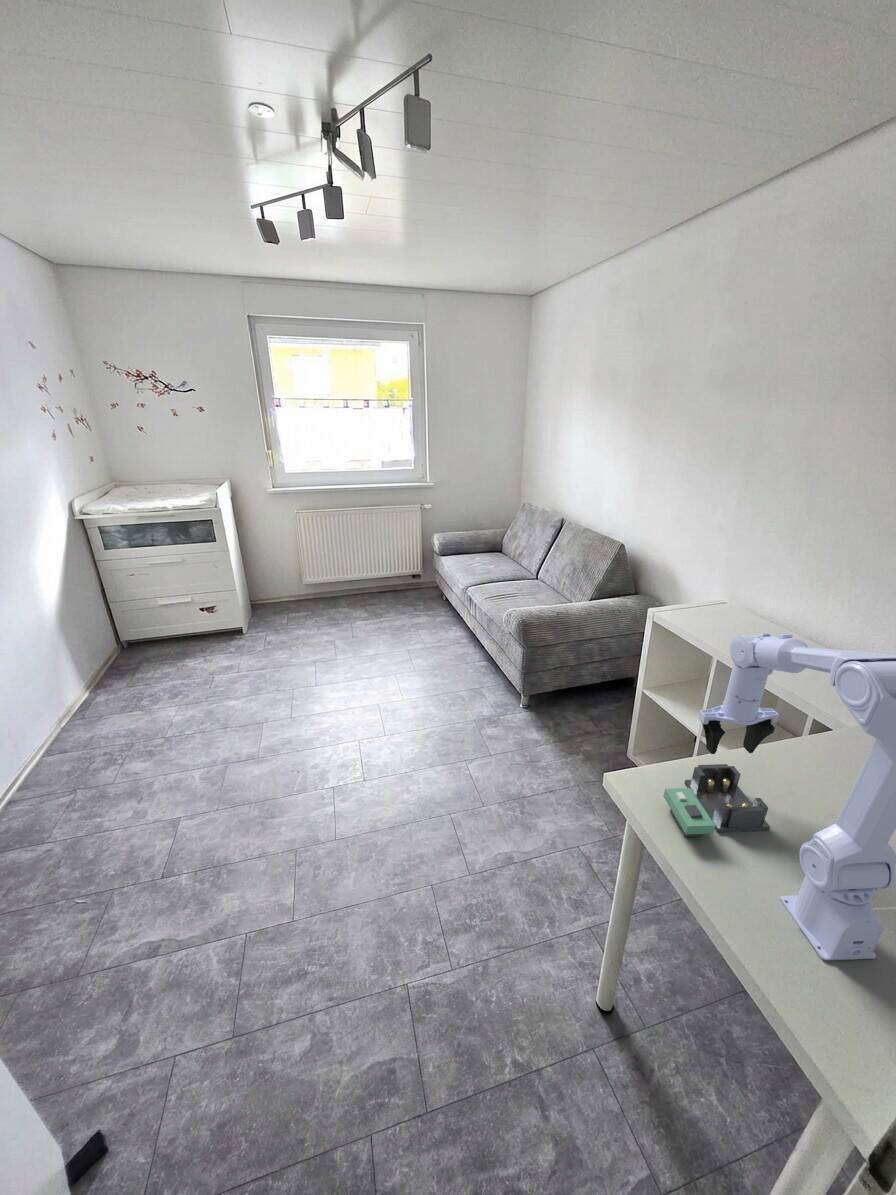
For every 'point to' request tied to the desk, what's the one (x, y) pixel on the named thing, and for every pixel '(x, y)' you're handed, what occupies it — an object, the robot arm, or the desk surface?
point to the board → (689, 811)
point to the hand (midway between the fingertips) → (729, 750)
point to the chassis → (727, 799)
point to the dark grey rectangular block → (682, 829)
